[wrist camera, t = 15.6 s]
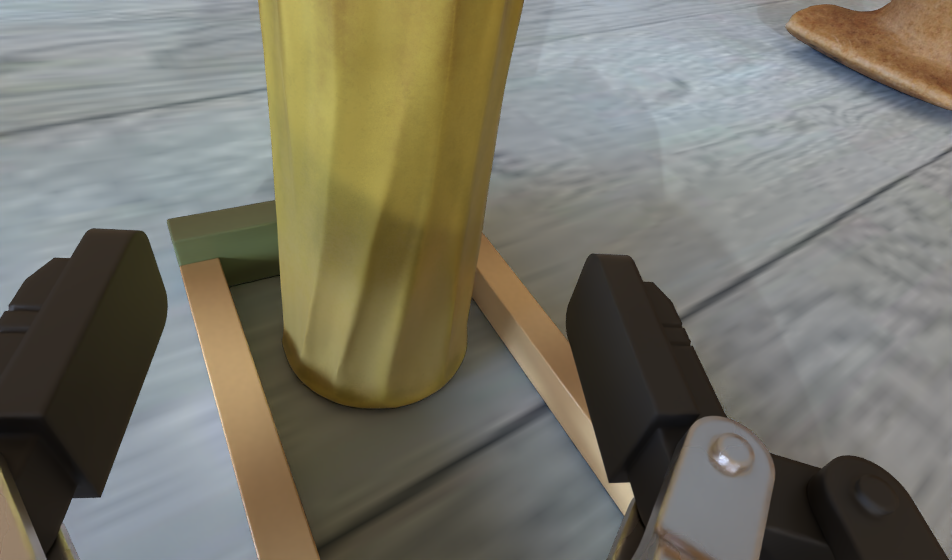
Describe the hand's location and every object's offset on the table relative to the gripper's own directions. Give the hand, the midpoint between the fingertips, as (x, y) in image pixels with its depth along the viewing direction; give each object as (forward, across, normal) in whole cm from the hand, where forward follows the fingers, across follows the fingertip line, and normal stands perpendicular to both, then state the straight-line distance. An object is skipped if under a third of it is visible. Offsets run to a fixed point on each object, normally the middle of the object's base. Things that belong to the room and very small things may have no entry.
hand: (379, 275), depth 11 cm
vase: (+5, 0, +8) cm, 9 cm away
